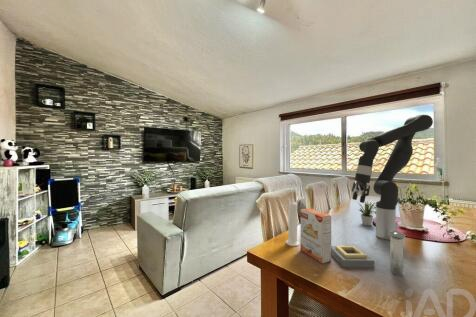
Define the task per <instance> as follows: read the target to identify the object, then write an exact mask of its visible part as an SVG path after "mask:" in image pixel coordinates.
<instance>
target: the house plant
mask: <svg viewBox="0 0 476 317" xmlns="http://www.w3.org/2000/svg"><path fill="white" fill-rule="evenodd" d="M357 204H358V205H359V206H360V207H359V209H358V212H361V214H360V217H361V222H362V225H365V226H372V224H373V220H374V219H373V218H374V216H373V214H374V213H376V210H374V209H376V203H372V204H371V205H369V201H365V202H364V207H363V206H362V205H361V204H360V202H357Z"/></svg>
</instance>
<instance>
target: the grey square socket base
mask: <svg viewBox="0 0 476 317" xmlns="http://www.w3.org/2000/svg"><path fill="white" fill-rule="evenodd" d="M331 257H333V258H334V259H335V260H336V261H337V262H338V263H339V264H340V265H341V267H343V268H371V269H372V268H373V269H374V268H375V260H374V259H373V258H372V257H370V256H369V255H368V254H366V253H365V251H363V250H361V249H360V248H359V247H357V246H355V245H335V246H334V245H333V246H332V245H331Z"/></svg>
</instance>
